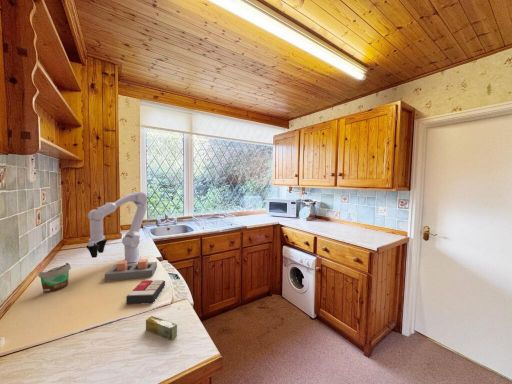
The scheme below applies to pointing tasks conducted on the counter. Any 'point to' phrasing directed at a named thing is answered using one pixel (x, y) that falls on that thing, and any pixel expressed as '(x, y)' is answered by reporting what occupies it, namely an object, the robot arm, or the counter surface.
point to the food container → (55, 278)
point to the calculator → (145, 292)
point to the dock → (132, 271)
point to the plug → (122, 266)
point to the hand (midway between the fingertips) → (97, 254)
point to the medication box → (161, 327)
